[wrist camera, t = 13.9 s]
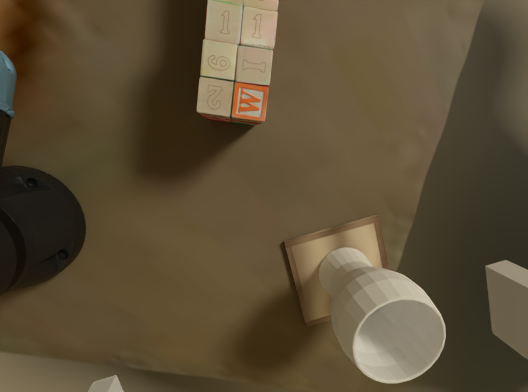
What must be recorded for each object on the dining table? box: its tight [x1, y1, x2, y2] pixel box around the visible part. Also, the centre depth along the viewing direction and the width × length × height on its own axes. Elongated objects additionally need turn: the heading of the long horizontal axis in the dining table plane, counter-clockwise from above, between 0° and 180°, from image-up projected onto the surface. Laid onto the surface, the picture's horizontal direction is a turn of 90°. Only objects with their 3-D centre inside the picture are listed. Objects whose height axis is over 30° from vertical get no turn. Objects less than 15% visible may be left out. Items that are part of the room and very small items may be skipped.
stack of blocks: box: [197, 0, 279, 126], centre depth 30 cm, size 21×6×12 cm, turn 173°
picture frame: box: [284, 215, 389, 327], centre depth 43 cm, size 14×14×1 cm
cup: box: [318, 247, 446, 383], centre depth 36 cm, size 11×11×15 cm
